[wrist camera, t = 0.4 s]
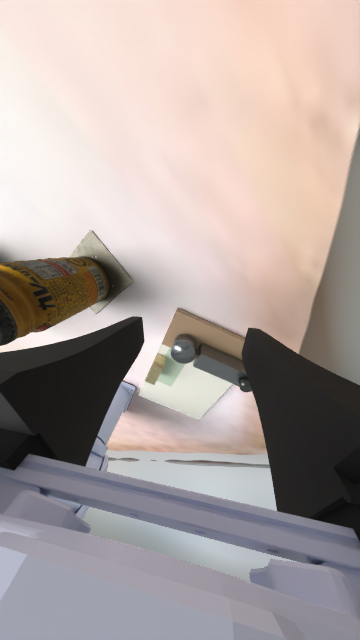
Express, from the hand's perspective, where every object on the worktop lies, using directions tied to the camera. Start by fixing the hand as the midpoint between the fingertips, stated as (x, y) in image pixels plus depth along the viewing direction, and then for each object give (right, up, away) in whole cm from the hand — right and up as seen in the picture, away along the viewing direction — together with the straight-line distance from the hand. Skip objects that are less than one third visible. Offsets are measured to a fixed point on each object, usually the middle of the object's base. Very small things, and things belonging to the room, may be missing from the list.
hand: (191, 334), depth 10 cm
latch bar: (+4, -4, +11) cm, 12 cm away
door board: (+1, -8, +15) cm, 17 cm away
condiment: (-12, +7, +10) cm, 17 cm away
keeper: (-4, -6, +14) cm, 16 cm away
